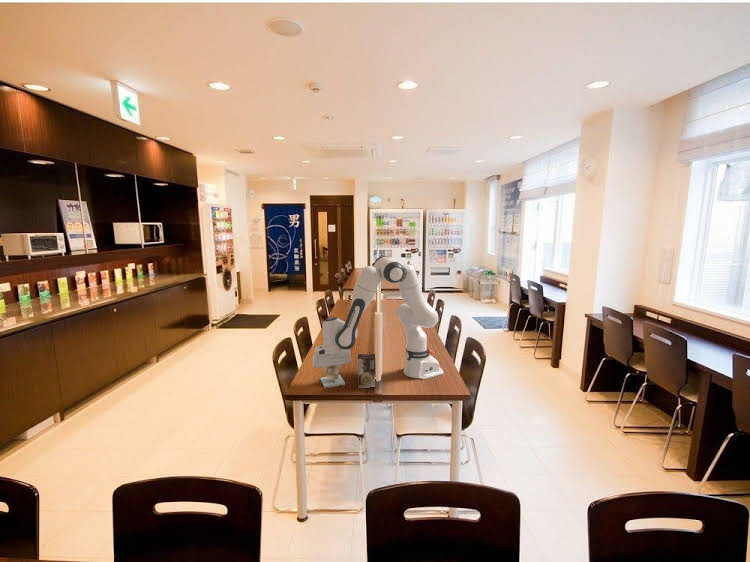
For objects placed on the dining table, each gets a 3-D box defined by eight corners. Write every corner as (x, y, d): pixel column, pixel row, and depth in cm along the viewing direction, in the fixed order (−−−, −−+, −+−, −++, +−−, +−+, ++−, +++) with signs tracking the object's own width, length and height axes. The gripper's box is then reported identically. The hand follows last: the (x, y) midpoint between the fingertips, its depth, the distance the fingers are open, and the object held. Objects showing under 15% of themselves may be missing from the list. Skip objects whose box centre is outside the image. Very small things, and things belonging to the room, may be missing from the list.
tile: (339, 376, 193) (339, 374, 193) (345, 384, 183) (345, 382, 183) (320, 379, 190) (320, 377, 190) (324, 388, 180) (324, 386, 179)
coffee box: (375, 382, 186) (375, 353, 183) (375, 388, 180) (375, 357, 177) (358, 382, 186) (358, 353, 183) (358, 388, 179) (357, 358, 177)
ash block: (335, 375, 189) (335, 364, 188) (338, 378, 185) (337, 367, 184) (326, 376, 188) (326, 365, 187) (328, 380, 183) (328, 369, 182)
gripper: (349, 343, 190) (349, 367, 192) (311, 348, 183) (312, 373, 185) (352, 347, 184) (352, 372, 186) (313, 352, 177) (314, 378, 179)
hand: (332, 372), depth 186 cm, fingers closed on ash block, 5 cm apart
